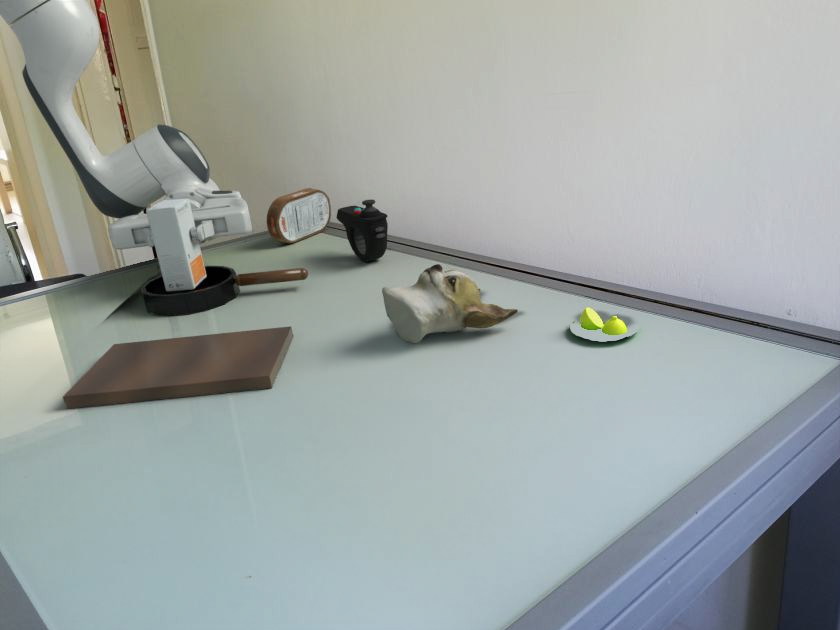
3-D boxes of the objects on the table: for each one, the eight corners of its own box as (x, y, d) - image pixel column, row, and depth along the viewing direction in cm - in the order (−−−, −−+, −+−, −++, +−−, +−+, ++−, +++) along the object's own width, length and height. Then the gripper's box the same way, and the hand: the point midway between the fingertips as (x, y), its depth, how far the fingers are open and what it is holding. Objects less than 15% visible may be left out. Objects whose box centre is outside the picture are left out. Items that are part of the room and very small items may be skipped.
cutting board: (66, 409, 77) (62, 396, 77) (117, 354, 90) (113, 343, 90) (272, 388, 77) (269, 375, 77) (293, 337, 90) (291, 326, 90)
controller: (373, 269, 113) (364, 206, 109) (339, 254, 122) (329, 195, 118) (397, 263, 115) (389, 200, 111) (362, 248, 125) (353, 190, 120)
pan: (133, 320, 101) (126, 299, 100) (163, 288, 114) (158, 270, 112) (304, 302, 102) (300, 281, 100) (316, 273, 114) (313, 254, 112)
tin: (324, 226, 142) (317, 182, 138) (337, 227, 140) (330, 183, 137) (270, 248, 130) (260, 201, 127) (282, 249, 129) (273, 202, 125)
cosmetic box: (195, 290, 104) (174, 207, 99) (165, 292, 104) (143, 210, 99) (208, 276, 109) (189, 197, 104) (180, 278, 109) (160, 200, 104)
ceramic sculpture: (364, 263, 86) (476, 244, 92) (370, 331, 89) (477, 309, 95) (399, 287, 77) (520, 264, 83) (404, 362, 80) (520, 335, 86)
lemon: (563, 344, 81) (562, 321, 80) (574, 317, 88) (574, 295, 87) (637, 347, 78) (637, 323, 77) (642, 319, 85) (643, 297, 84)
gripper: (114, 205, 112) (91, 226, 100) (249, 189, 116) (243, 207, 103) (125, 244, 115) (104, 269, 103) (257, 227, 118) (252, 250, 106)
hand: (175, 238), depth 103 cm, fingers closed on cosmetic box, 4 cm apart
